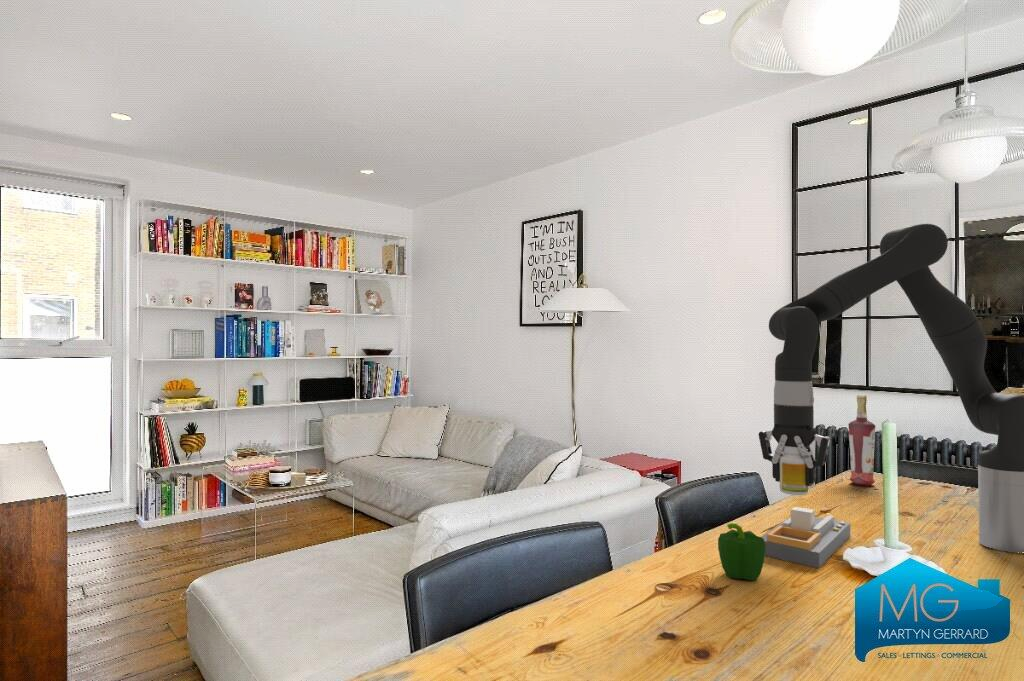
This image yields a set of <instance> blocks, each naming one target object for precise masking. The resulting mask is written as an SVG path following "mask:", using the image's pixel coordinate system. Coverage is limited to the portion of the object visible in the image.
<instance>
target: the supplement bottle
mask: <svg viewBox="0 0 1024 681" xmlns="http://www.w3.org/2000/svg"><path fill="white" fill-rule="evenodd" d="M783 452H784V455H782V456H781V457H780V482H779V491H780V493H783V494H787V495H792V496H805V495H808V493H809V486H806V468H807V465H806V462H805V460H804V458H803V457H802V455H801V453H800V450H799V448H798V447H790V446H784V449H783Z"/></svg>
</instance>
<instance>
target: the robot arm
mask: <svg viewBox="0 0 1024 681" xmlns="http://www.w3.org/2000/svg"><path fill="white" fill-rule="evenodd" d="M948 241H949V240H948V237H947V234H946V233H945V231H944V230H943V229H942V228H941V227H940V226H938V225H936V224H933V223H917V224H913V225H907V226H904V227H899V228H895V229H892V230H890V231H887V232H886V233H885V234H884V235H883V236H882V237H881V240H880V243H879V253H880V255H879V256H877V257H875V258H873V259H871V260H869V261H867V262H865V263H862V264H860V265H857V266H856V267H854V268H850V269H849V270H847V271H844V272H842V273H840V274H838V275H837V276H835V277H833V278H831V279H830V280H828V281H827V282H825V283H824V284H822V285H821V286H819V287H818V288H815V290H813V291H811V292H810V293H808V294H807V295H805V296H802V297H800V298H798V299H796V300H793V301H792V302H790V303H789V302H788V303H787V304H786V305H784V306H782V307H780V308H779V309H777V310H776V311H775V312H774V313H773V314H772V315H771V317H770V318H769V321H768V331H769V333H770V334H771V335H772V336H773V337H774V338H776V339H777V340H780V341H784V343H783V348H782V351H781V353H778V354H777V355H776V356H775V360H774V361H775V362H774V388H773V428H772V430H768V431H767V430H762V431H759V432H758V439H759V444H760V448H761V454H762V458H763V459H764V460H767V461H769V462H770V463H771V464H772V470H771V471H772V472H771V473H772V478H773V479H774V480H775V482H777V483H780V457H781V456H782V455H784V452H783V449H784V446H790V447H798V448H799V450H800V453H801V455H802V457H803V458H804V460H805V462H806V465H807V468H806V486H808V487H812V486H813V484H815V483H816V480H817V479H816V478H817V476H816V475H817V474H816V473H817V470H816V468H818V467H823V466H824V465H826V464H827V460H828V455H829V450H830V447H831V446H830V445H831V441H832V439H831V437H830V436H826V435H825V436H823V435H819V434H817V432H816V431H815V428H814V404H815V397H814V388H813V369H812V366H813V365H812V363H813V362H812V360H813V357H814V353H815V350H816V346H817V342H818V339H819V338H818V337H819V333H820V332H819V327H820V326H819V323H821V322H825V321H830V320H832V319H835V318H836V317H838V316H840V315H842V314H843V313H844V312H846V311H847V310H850V309H851V308H852V307H854V306H856V305H857V304H858V303H860V302H862V301H863V300H865V299H866V298H868V297H870V296H871V295H873V294H875V293H877V292H879V291H880V290H882V289H883V288H885V287H887V286H888V285H890V284H892V283H894V282H897V284H898V285H899V286H900V288H901V289H902V291H903V293H904V294H905V295H906V297H907V299H908V300H909V302H910V304H911V305H912V307H913V309H914V311H915V313H916V315H917V316H918V318H919V320H920V321H921V323H922V325H923V327H924V329H925V331H926V333H927V335H928V337H929V339H930V341H931V343H932V344H933V346H934V347H935V350H936V351H937V352H938V354H939V356H940V358H941V359H942V362H943V364H944V365H945V367H946V369H947V371H948V374H949V376H950V377H951V379H952V382H953V383H954V386H955V388H956V390H957V393H958V395H959V398H960V400H961V403H962V406H963V408H964V411H965V414H966V416H967V417H968V419H969V422H970V423H971V425H973V427H974V428H976V429H977V430H978V431H980V432H983V433H985V434H991V435H996V436H997V442H996V443H997V444H996V445H995V447H993V448H992V449H986V450H981V451H980V452H979V453H978V456H977V457H978V458H977V459H978V460H977V461H978V462H977V463H978V465H977V472H978V474H977V475H978V477H977V478H978V480H977V481H978V483H977V484H978V488H977V489H978V543H979V544H980V545H981V546H984V547H986V548H988V547H989V548H988V549H991V548H993V550H995V549H997V550H996V551H999V550H1002V551H1001V552H1004V551H1008V552H1007V553H1011V552H1017V553H1016V554H1022V552H1024V395H1023V394H1015V393H1001V392H997V391H996V389H994V387H993V385H992V384H991V382H990V380H989V378H988V376H987V374H986V371H985V360H986V356H987V349H988V338H987V335H986V332H985V330H984V329H983V327H982V324H981V323H980V321H979V320H978V317H977V315H976V314H975V312H974V310H972V308H971V307H970V306H969V305H968V304H967V303H966V302H964V301H963V300H962V299H961V298H959V297H958V296H957V295H956V294H954V292H952V291H951V290H950V289H948V288H947V287H945V286H944V285H943V284H942V283H941V282H940V281H939V280H938V278H936V276H935V275H934V274H933V272H932V269H931V268H930V266H932V265H934V264H936V263H937V262H939V261H940V260H941V259H942V258H943V257H944V256H945V254H946V252H947V249H948V246H949V242H948ZM772 437H773V438H774V440H775V441H776V443H777V446H776V448H775V450H774V454H773V452H772V446H771V442H770V441H771V440H772ZM814 441H816V445H817V446H818V447H819V449H818V454H817V456H816V457H817V458H816V459H815V457H814V456H815V455H814V453H813V450H812V448H811V445H812V444H813V443H814ZM1018 552H1019V553H1018Z"/></svg>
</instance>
